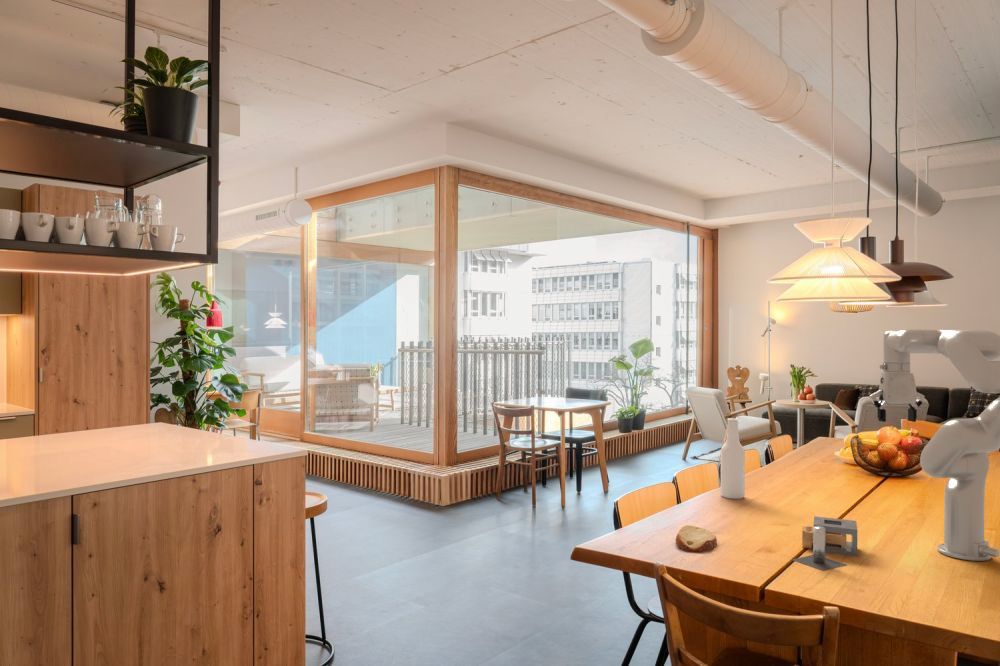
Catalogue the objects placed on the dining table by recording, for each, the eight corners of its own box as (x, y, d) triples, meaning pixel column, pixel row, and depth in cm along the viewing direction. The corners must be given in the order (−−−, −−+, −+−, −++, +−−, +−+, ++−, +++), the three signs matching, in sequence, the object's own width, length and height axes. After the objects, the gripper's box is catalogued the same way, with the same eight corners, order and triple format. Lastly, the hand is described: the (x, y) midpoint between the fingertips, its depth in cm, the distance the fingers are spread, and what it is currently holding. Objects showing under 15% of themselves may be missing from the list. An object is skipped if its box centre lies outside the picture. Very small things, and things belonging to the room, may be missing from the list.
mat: (847, 566, 185) (847, 564, 185) (823, 572, 180) (823, 571, 180) (815, 555, 194) (815, 554, 194) (791, 561, 189) (791, 559, 189)
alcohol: (741, 494, 267) (741, 417, 267) (747, 499, 258) (747, 420, 258) (718, 493, 268) (718, 417, 268) (723, 499, 259) (723, 419, 259)
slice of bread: (693, 530, 219) (693, 519, 219) (737, 546, 203) (737, 533, 203) (650, 538, 211) (650, 526, 211) (692, 555, 195) (692, 542, 195)
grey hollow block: (856, 548, 201) (856, 520, 201) (857, 558, 192) (857, 529, 192) (803, 541, 207) (803, 515, 207) (802, 551, 198) (802, 523, 198)
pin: (827, 563, 187) (827, 528, 187) (820, 564, 185) (820, 529, 185) (817, 559, 189) (818, 525, 189) (810, 561, 188) (810, 527, 188)
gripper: (876, 368, 218) (876, 422, 218) (930, 369, 218) (931, 422, 218) (863, 367, 226) (864, 419, 225) (916, 368, 225) (916, 420, 225)
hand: (897, 421), depth 222 cm, fingers open, 9 cm apart
